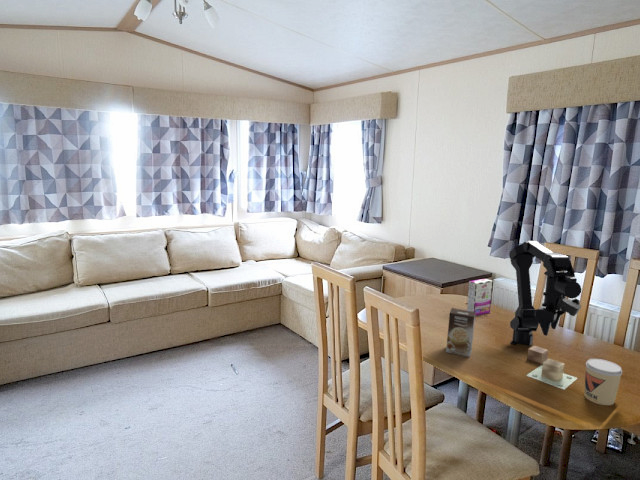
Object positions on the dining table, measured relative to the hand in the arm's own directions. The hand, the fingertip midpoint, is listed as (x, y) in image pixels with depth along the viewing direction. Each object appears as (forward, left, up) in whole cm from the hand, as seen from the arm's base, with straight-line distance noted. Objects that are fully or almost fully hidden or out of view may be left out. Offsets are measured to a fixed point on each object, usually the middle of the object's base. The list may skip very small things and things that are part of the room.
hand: (549, 332), depth 157 cm
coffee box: (-26, -16, -13) cm, 33 cm away
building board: (+6, -11, -12) cm, 17 cm away
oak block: (+6, -11, -11) cm, 17 cm away
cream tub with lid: (+21, -14, -13) cm, 28 cm away
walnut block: (-3, -1, -12) cm, 13 cm away
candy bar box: (-44, +31, -13) cm, 55 cm away
